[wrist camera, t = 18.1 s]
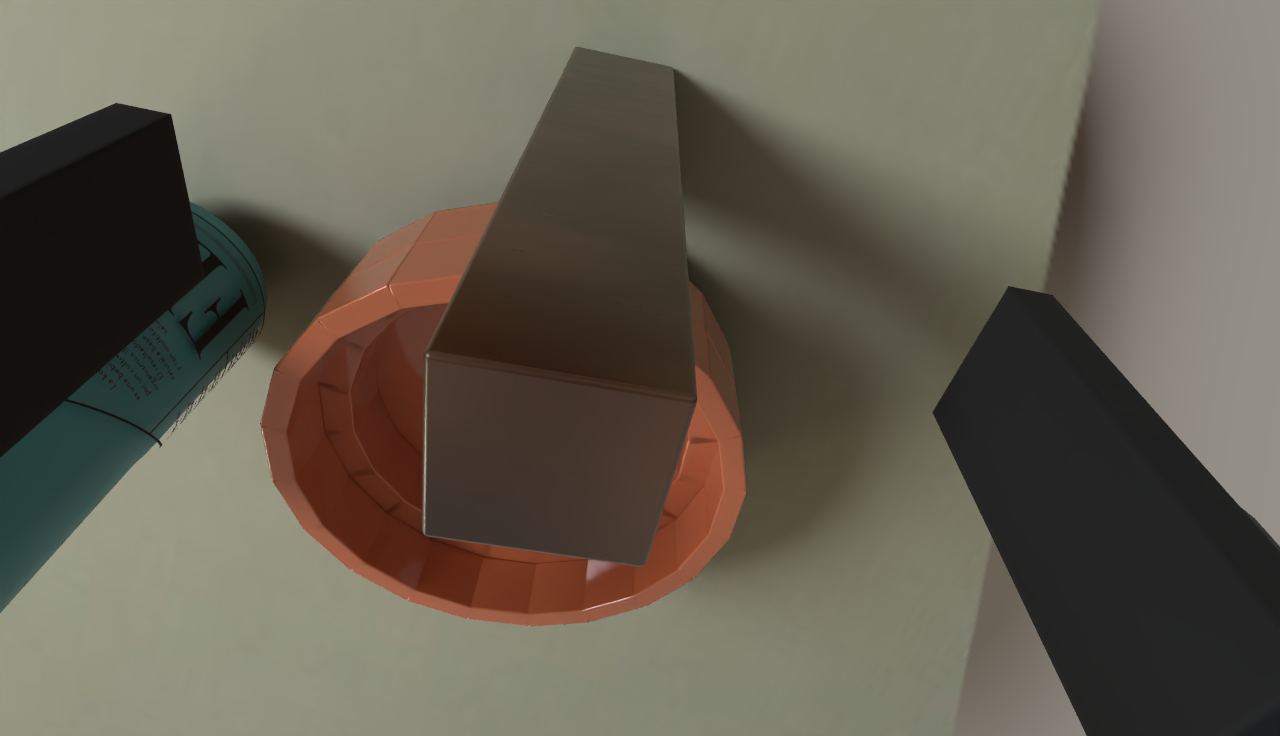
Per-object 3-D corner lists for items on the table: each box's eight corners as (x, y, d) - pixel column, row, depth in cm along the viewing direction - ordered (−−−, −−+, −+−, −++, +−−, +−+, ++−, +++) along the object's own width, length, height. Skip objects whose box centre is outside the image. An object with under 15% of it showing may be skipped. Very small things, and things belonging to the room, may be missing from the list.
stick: (562, 145, 22) (419, 538, 9) (575, 45, 20) (420, 351, 7) (653, 163, 22) (646, 570, 9) (674, 66, 20) (699, 399, 7)
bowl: (616, 110, 21) (603, 179, 16) (785, 446, 29) (810, 561, 24) (248, 299, 25) (151, 399, 21) (484, 547, 34) (453, 661, 29)
